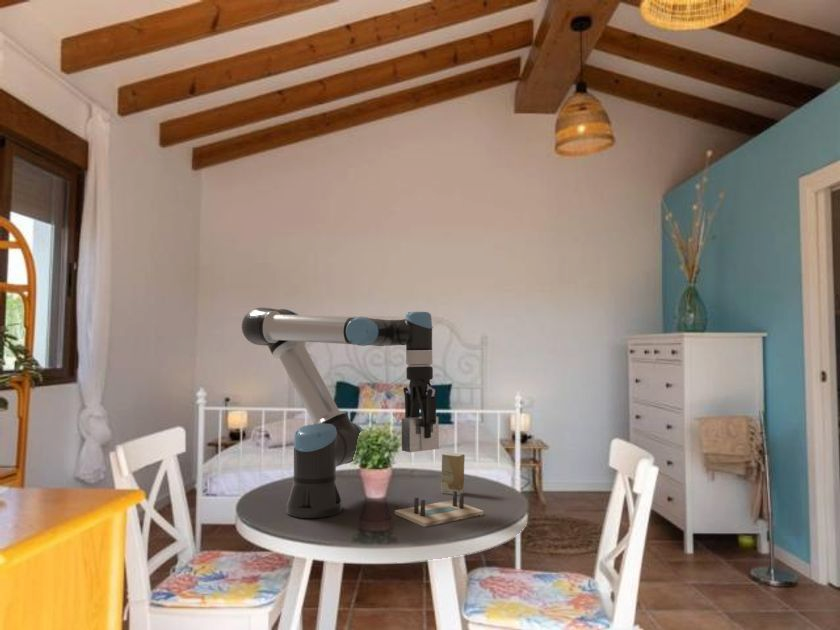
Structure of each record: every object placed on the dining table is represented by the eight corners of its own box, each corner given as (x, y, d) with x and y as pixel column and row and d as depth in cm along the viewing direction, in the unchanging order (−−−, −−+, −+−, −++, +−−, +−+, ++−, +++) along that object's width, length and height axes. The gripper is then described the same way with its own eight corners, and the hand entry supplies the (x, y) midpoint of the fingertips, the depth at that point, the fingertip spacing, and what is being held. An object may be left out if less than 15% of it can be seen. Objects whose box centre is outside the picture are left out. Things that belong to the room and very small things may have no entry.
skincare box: (440, 493, 187) (440, 454, 187) (446, 490, 190) (446, 451, 191) (459, 495, 184) (459, 455, 184) (464, 492, 187) (464, 453, 188)
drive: (410, 452, 164) (409, 419, 164) (401, 450, 167) (401, 418, 167) (438, 448, 169) (438, 416, 170) (430, 446, 173) (429, 415, 173)
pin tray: (424, 526, 151) (424, 506, 152) (394, 514, 163) (394, 495, 163) (483, 514, 163) (483, 496, 163) (452, 503, 174) (452, 486, 175)
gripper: (448, 365, 165) (450, 451, 163) (413, 365, 179) (414, 443, 177) (426, 366, 160) (428, 454, 159) (392, 365, 174) (393, 446, 173)
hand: (420, 448), depth 168 cm, fingers closed on drive, 4 cm apart
